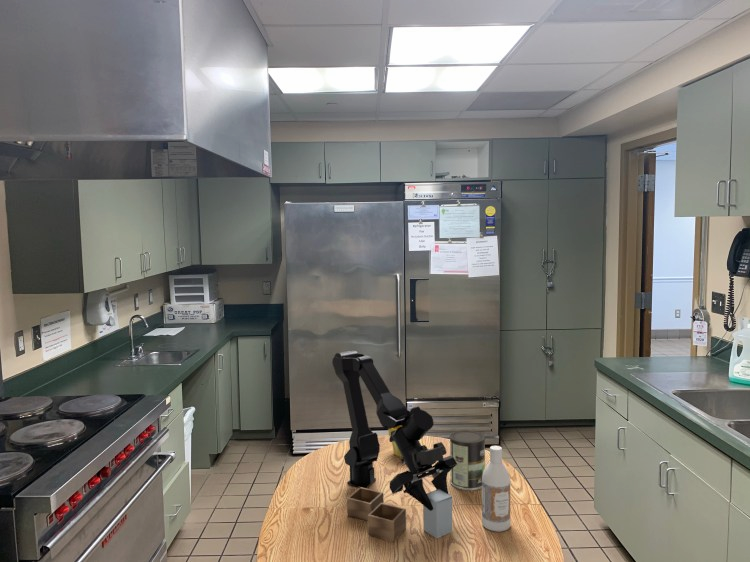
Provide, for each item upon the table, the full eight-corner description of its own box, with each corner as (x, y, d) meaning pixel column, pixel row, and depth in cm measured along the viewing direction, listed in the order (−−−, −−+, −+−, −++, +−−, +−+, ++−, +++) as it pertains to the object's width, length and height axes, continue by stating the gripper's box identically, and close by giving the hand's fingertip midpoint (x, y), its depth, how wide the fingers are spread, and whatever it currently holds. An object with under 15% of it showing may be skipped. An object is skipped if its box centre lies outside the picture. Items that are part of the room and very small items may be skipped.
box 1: (347, 516, 138) (347, 498, 138) (360, 504, 144) (360, 486, 144) (370, 523, 135) (370, 504, 134) (383, 510, 141) (383, 492, 141)
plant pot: (425, 452, 179) (425, 424, 178) (405, 462, 171) (405, 432, 170) (402, 444, 186) (402, 417, 185) (382, 453, 178) (381, 425, 177)
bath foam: (489, 534, 129) (489, 454, 127) (477, 519, 136) (477, 443, 134) (515, 530, 130) (515, 451, 129) (502, 516, 137) (502, 441, 136)
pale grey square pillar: (423, 530, 131) (423, 494, 131) (439, 523, 134) (438, 488, 134) (436, 538, 127) (436, 502, 127) (452, 531, 130) (452, 496, 130)
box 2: (368, 534, 130) (367, 515, 129) (381, 521, 136) (381, 502, 135) (393, 542, 126) (393, 522, 126) (406, 528, 132) (405, 508, 132)
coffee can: (485, 476, 160) (485, 430, 159) (485, 492, 150) (485, 443, 149) (450, 473, 162) (450, 428, 161) (448, 489, 152) (448, 441, 151)
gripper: (395, 442, 127) (427, 505, 119) (452, 425, 138) (484, 481, 130) (377, 463, 134) (405, 523, 126) (431, 445, 145) (461, 500, 137)
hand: (440, 506), depth 130 cm, fingers closed on pale grey square pillar, 5 cm apart
